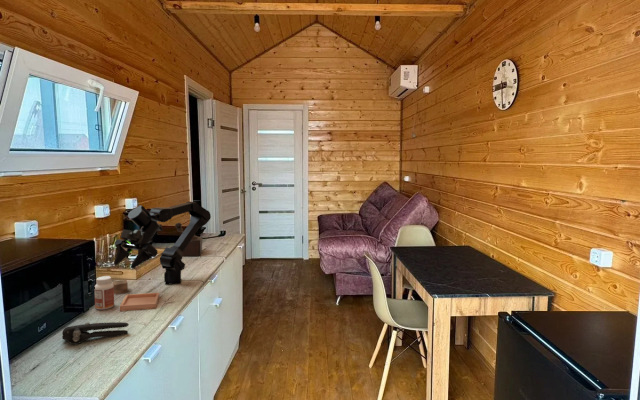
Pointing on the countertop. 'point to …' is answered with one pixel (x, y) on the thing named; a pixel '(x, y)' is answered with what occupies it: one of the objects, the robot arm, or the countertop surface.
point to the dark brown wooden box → (191, 245)
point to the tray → (139, 301)
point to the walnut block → (120, 286)
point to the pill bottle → (104, 293)
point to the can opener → (80, 332)
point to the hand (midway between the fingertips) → (123, 266)
